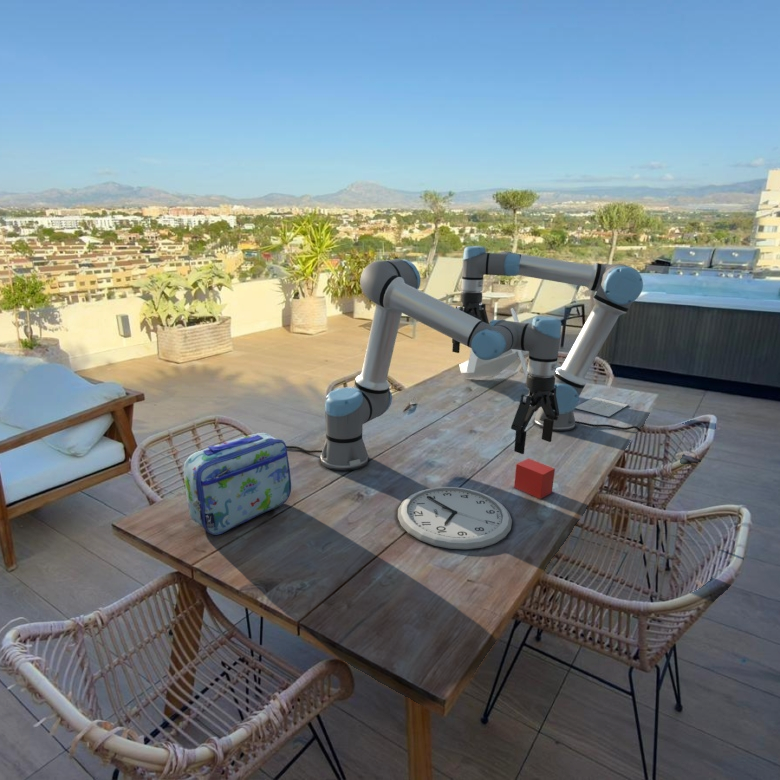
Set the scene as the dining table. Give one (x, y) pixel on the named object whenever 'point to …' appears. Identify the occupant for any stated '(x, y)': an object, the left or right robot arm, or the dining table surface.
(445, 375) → the dining table surface
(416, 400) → the fork
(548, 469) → the block
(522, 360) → the white plastic object
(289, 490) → the lunch box
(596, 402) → the invitation card
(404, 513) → the wall clock
